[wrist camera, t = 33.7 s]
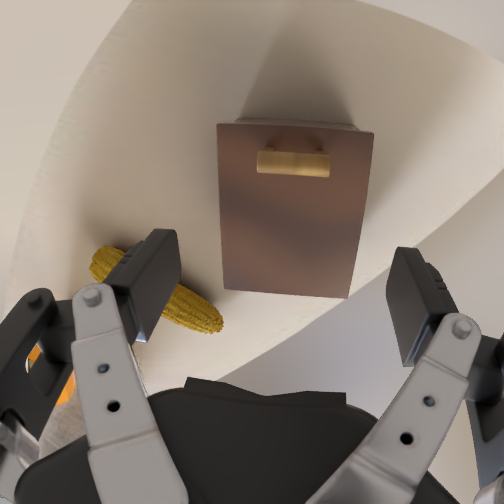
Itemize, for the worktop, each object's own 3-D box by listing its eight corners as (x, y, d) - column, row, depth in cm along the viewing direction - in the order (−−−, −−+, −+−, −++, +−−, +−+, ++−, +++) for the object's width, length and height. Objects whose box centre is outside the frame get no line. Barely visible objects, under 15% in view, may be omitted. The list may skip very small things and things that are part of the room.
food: (101, 260, 46) (81, 282, 41) (108, 232, 43) (87, 254, 38) (220, 324, 49) (211, 353, 44) (236, 302, 46) (227, 331, 41)
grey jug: (122, 408, 72) (70, 534, 38) (67, 370, 67) (0, 494, 34) (142, 395, 66) (83, 544, 32) (80, 353, 62) (0, 498, 28)
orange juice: (69, 331, 58) (21, 402, 41) (67, 303, 53) (10, 379, 36) (100, 347, 58) (56, 424, 42) (101, 320, 54) (48, 404, 37)
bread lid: (218, 122, 25) (201, 133, 21) (372, 131, 24) (387, 144, 19) (225, 284, 34) (214, 316, 29) (346, 294, 32) (351, 327, 28)
